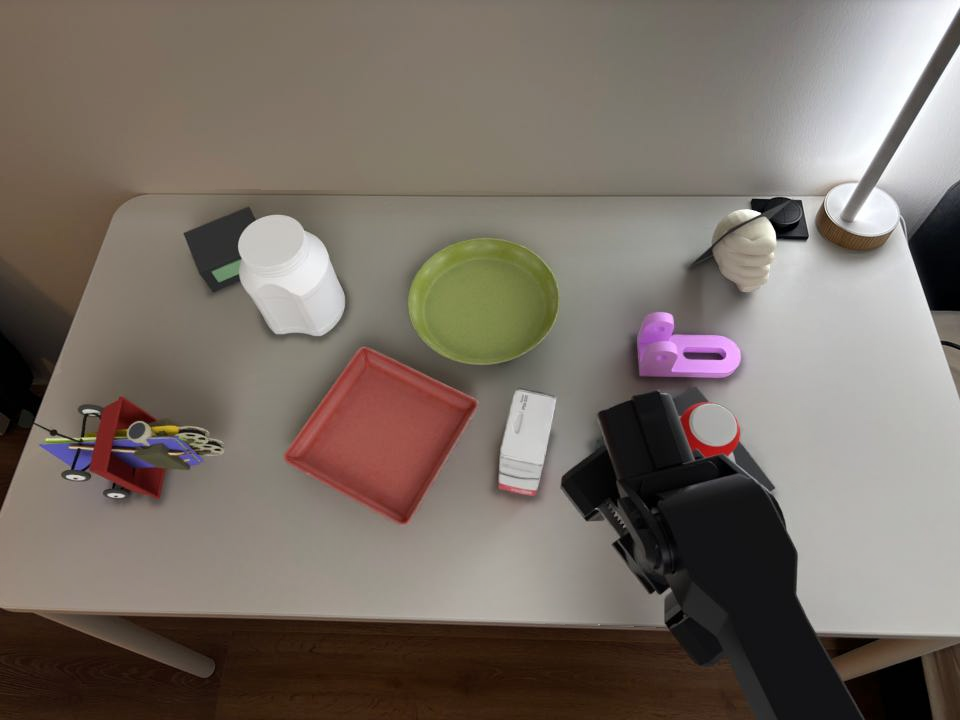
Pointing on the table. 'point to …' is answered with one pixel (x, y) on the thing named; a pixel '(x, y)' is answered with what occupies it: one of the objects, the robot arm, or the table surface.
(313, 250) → the jar
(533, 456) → the ink box
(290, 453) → the plant saucer
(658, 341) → the bracket
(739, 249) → the decorative object
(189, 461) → the toy cart
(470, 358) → the saucer
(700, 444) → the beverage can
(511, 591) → the table surface
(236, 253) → the scale display
